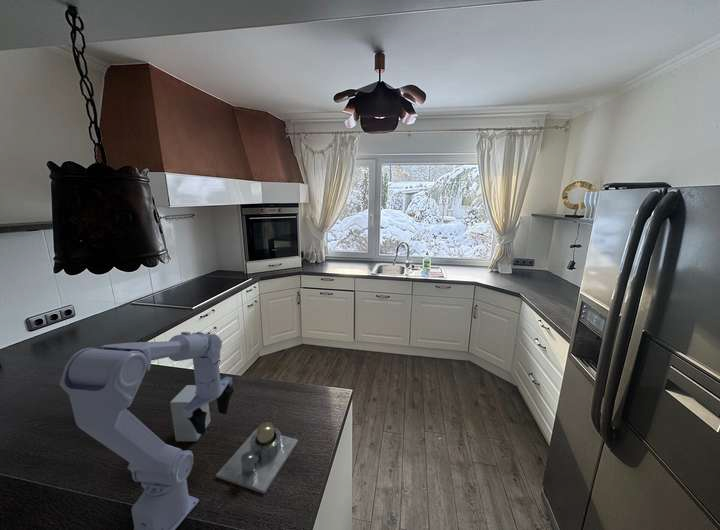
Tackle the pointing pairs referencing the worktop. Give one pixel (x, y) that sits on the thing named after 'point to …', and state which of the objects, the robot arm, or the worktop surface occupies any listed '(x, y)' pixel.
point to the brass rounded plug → (265, 434)
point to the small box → (182, 424)
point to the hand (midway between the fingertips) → (212, 422)
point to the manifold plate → (257, 462)
